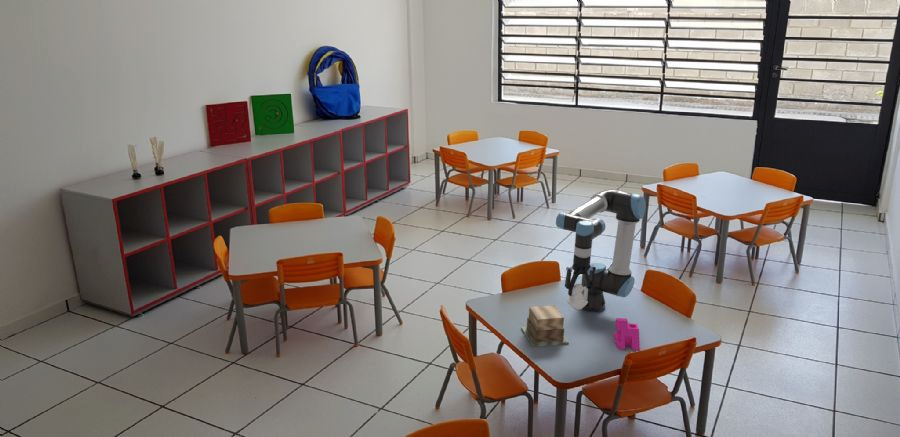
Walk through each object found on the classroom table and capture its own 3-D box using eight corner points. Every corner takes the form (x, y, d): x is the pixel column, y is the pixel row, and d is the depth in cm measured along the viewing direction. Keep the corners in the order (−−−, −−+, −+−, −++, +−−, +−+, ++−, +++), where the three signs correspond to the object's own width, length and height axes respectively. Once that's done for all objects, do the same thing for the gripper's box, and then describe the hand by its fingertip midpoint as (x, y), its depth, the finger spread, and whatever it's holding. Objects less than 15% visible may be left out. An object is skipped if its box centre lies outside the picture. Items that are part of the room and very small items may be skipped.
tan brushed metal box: (555, 325, 357) (557, 302, 352) (568, 343, 340) (570, 319, 336) (521, 328, 353) (523, 304, 349) (532, 346, 337) (534, 322, 332)
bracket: (613, 336, 348) (616, 317, 345) (635, 337, 348) (637, 319, 344) (617, 349, 337) (619, 330, 334) (639, 350, 337) (642, 331, 333)
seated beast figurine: (587, 303, 333) (589, 280, 329) (588, 312, 325) (590, 288, 321) (567, 301, 334) (569, 278, 330) (567, 310, 326) (569, 286, 322)
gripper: (598, 250, 326) (594, 295, 334) (559, 253, 322) (555, 299, 330) (605, 256, 320) (600, 302, 328) (565, 259, 315) (561, 306, 323)
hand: (578, 300), depth 329 cm, fingers open, 6 cm apart
